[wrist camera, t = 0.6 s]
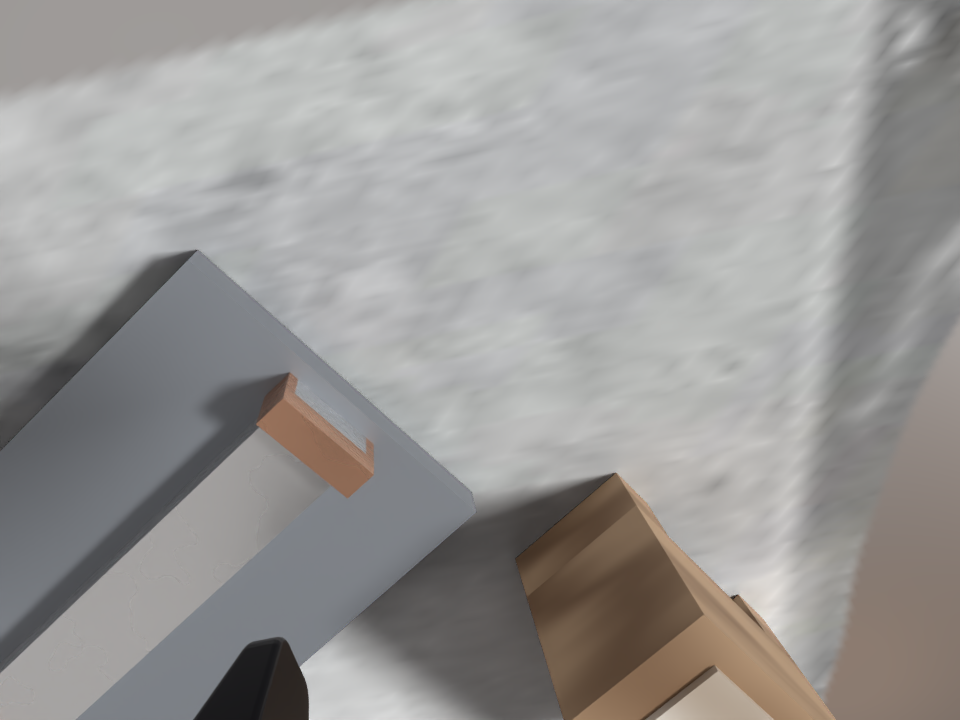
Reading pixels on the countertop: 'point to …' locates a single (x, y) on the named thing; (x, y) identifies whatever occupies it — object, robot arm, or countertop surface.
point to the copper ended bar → (185, 553)
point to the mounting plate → (176, 462)
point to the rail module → (650, 625)
